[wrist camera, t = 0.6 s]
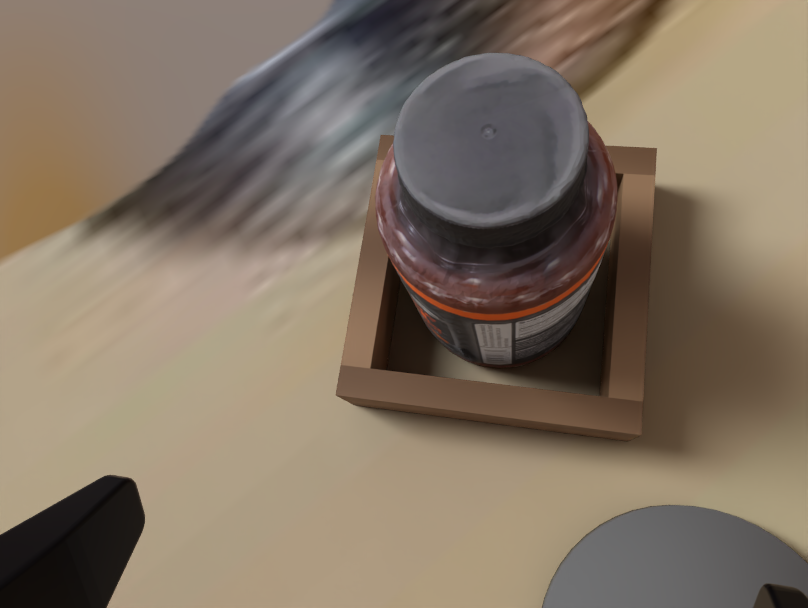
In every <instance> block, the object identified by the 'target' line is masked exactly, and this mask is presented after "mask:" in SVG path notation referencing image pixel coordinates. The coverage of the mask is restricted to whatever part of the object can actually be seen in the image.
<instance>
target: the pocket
mask: <svg viewBox="0 0 808 608" xmlns="http://www.w3.org/2000/svg"><path fill="white" fill-rule="evenodd" d="M393 141H394V136H393V135H381V137H380V143H379V149H378V155H377V160H376V166H375V172H374V177H373V183H372V189H371V195H370V200H369V206H368V212H367V218H366V223H365V229H364V235H363V241H362V246H361V252H360V258H359V264H358V269H357V275H356V281H355V287H354V292H353V298H352V304H351V310H350V315H349V321H348V327H347V333H346V338H345V344H344V350H343V356H342V361H341V367H340V373H339V379H338V384H337V390H336V396H338V397H340V398H342V399H344V400H346V401H348V402H349V403H351V404H353V405H359V406H366V407H374V408H381V409H389V410H396V411H404V412H411V413H419V414H426V415H434V416H441V417H449V418H456V419H464V420H471V421H479V422H486V423H494V424H501V425H509V426H516V427H524V428H531V429H539V430H546V431H554V432H561V433H569V434H576V435H584V436H591V437H599V438H606V439H614V440H621V441H629V440H632V439H634V438H636V437H638V436H640V435H641V433H642V414H643V395H644V377H645V358H646V339H647V321H648V302H649V284H650V265H651V246H652V228H653V209H654V191H655V172H656V153H657V148H642V147H621V146H606V148H607V150H608V152H609V154H610V157H611V160H612V162H613V165H614V170H615V173H616V181H617V194H618V200H617V211H616V217H615V222H614V226H613V230H612V233H611V240H610V254H609V268H608V283H607V297H606V311H605V325H604V339H603V353H602V367H601V381H600V395H599V396H593V395H585V394H576V393H568V392H560V391H552V390H543V389H535V388H527V387H519V386H510V385H502V384H494V383H486V382H477V381H469V380H461V379H453V378H444V377H436V376H428V375H420V374H411V373H403V372H395V371H387V363H388V357H389V351H390V344H391V338H392V331H393V325H394V319H395V312H396V306H397V299H398V293H399V286H400V280H401V279H400V277H399V275H398V273H397V271H396V269H395V268H394V266H393V264H392V262H391V260H390V258H389V256H388V254H387V252H386V250H385V248H384V245H383V242H382V239H381V236H380V234H379V232H378V226H377V220H376V210H375V206H376V204H375V194H376V187H377V182H378V179H379V173H380V170H381V167H382V165H383V162H384V160H385V158H386V156H387V154H388V151H389V149H390V147H391V145H392V144H393Z"/></svg>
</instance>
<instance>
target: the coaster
mask: <svg viewBox="0 0 808 608" xmlns="http://www.w3.org/2000/svg"><path fill="white" fill-rule="evenodd" d="M766 583H771V584H777V585H784V586H790V587H794V588H797V589H799V590H801V591H802V592H803V593H804V594H805V595H806V596H807V597H808V563H807V562H805V561H804V560H803V559H802V558H801V557H800V556H799V555H798V554H797V553H796V552H795V551H794V550H793V549H791V548H790V547H789V546H787V545H786V544H785V543H783V542H782V541H781V540H779V539H778V538H777V537H775V536H773V535H772V534H770V533H768V532H767V531H765V530H763V529H762V528H760V527H758V526H756V525H754V524H752V523H750V522H748V521H745V520H743V519H741V518H739V517H736V516H733V515H730V514H727V513H723V512H720V511H717V510H712V509H707V508H701V507H696V506H680V505H662V506H650V507H646V508H641V509H637V510H632V511H629V512H627V513H624V514H621V515H619V516H616V517H614V518H612V519H610V520H608V521H606V522H605V523H603V524H601V525H599V526H598V527H596V528H595V529H594V530H592V531H591V532H590V533H588V534H587V535H586V536H584V537H583V538H582V539H581V540H580V541H579V542H578V543H577V544H576V545H575V546H574V547H573V548H572V549H571V551H570V552H569V553H568V555H567V556H566V557H565V558H564V560H563V561H562V562H561V564H560V566H559V567H558V569H557V571H556V573H555V575H554V576H553V578H552V580H551V582H550V585H549V588H548V590H547V593H546V595H545V598H544V602H543V606H542V608H753V606H754V603H755V600H756V598H757V595H758V593H759V590H760V588H761V587H762V586H763V585H764V584H766Z"/></svg>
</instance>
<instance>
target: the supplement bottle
mask: <svg viewBox="0 0 808 608" xmlns="http://www.w3.org/2000/svg"><path fill="white" fill-rule="evenodd" d="M617 200H618V194H617V181H616V173H615V170H614V165H613V162H612V160H611V157H610V154H609V152H608V150H607V148H606V146H605V144H604V142H603V141H602V139H601V137H600V136H599V135H598V133H597V132H596V130H595V129H594V128H593V126H592V125H591V124H590V123H589V122H588V121H587V115H586V113H585V110H584V108H583V105H582V102H581V100H580V98H579V96H578V94H577V93H576V92H575V91H574V90H573V88H572V87H571V85H570V84H569V83H568V82H567V81H566V80H565V79H564V78H563V77H562V76H561V75H560V74H559V73H558V72H557V71H555V70H554V69H552V68H551V67H548V66H546V65H544V64H542V63H541V62H539V61H536V60H533V59H531V58H529V57H525V56H521V55H514V54H508V53H485V54H479V55H473V56H468V57H464V58H462V59H460V60H457V61H454V62H452V63H450V64H447V65H446V66H444V67H443V68H440V69H438V70H437V71H436V72H434V73H433V74H431V75H430V76H428V77H427V78H426V79H425V80H424V81H423V82H422V83H421V84H420V85H419V86H418V87H417V88H416V89H415V90H414V91H413V93H412V94H411V96H410V97H409V98H408V99H407V101H406V102H405V103H404V105H403V107H402V110H401V112H400V114H399V117H398V120H397V123H396V126H395V132H394V141H393V144H392V145H391V147H390V149H389V151H388V154H387V156H386V158H385V160H384V162H383V165H382V167H381V170H380V173H379V179H378V182H377V187H376V194H375V204H376V206H375V210H376V220H377V226H378V232H379V234H380V236H381V239H382V242H383V245H384V248H385V250H386V252H387V254H388V256H389V258H390V260H391V262H392V264H393V266H394V268H395V269H396V271H397V273H398V275H399V277H400V279H401V281H402V283H403V284H404V286H405V288H406V289H407V291H408V292H409V294H410V296H411V298H412V300H413V302H414V304H415V306H416V308H417V309H418V312H419V314H420V315H421V317H422V319H423V320H424V322H425V325H426V326H427V328H428V329H429V330H430V331H431V332H432V334H433V335H434V336H435V337H436V338H437V339H438V340H439V341H440V342H441V343H442V344H443V345H444V346H445V347H446V348H447V349H448V350H449V351H450V352H452V353H454V354H455V355H457V356H459V357H460V358H462V359H464V360H466V361H468V362H471V363H474V364H477V365H481V366H486V367H496V368H506V367H515V366H521V365H524V364H528V363H531V362H533V361H535V360H537V359H539V358H541V357H543V356H545V355H546V354H548V353H549V352H551V351H552V350H554V349H555V348H556V347H557V346H558V345H559V344H560V343H561V342H562V341H563V340H564V339H565V338H566V336H567V335H568V334H569V332H570V331H571V330H572V328H573V327H574V325H575V323H576V322H577V320H578V318H579V316H580V314H581V311H582V309H583V306H584V304H585V301H586V299H587V297H588V295H589V291H590V289H591V286H592V283H593V281H594V279H595V276H596V274H597V271H598V269H599V266H600V264H601V261H602V258H603V256H604V254H605V250H606V247H607V244H608V241H609V239H610V236H611V233H612V230H613V226H614V222H615V217H616V211H617Z"/></svg>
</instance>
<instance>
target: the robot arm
mask: <svg viewBox="0 0 808 608" xmlns="http://www.w3.org/2000/svg"><path fill="white" fill-rule="evenodd" d="M144 524H145V514H144V510H143V506H142V503H141V499H140V496H139V492H138V489H137V485H136V483H135V482H134V481H133V480H132V479H131V478H128V477H122V476H116V475H107V476H104V477H102V478H100V479H98V480H96V481H95V482H93V483H91V484H89V485H87V486H86V487H84V488H82V489H80V490H79V491H77V492H75V493H73V494H72V495H70V496H68V497H66V498H65V499H63V500H61V501H59V502H57V503H56V504H54V505H52V506H50V507H49V508H47V509H45V510H43V511H42V512H40V513H38V514H36V515H34V516H33V517H31V518H29V519H27V520H26V521H24V522H22V523H20V524H19V525H17V526H15V527H13V528H12V529H10V530H8V531H6V532H4V533H3V534H1V535H0V608H107V606H108V603H109V601H110V599H111V597H112V595H113V593H114V591H115V589H116V586H117V584H118V582H119V580H120V578H121V576H122V574H123V572H124V569H125V567H126V565H127V563H128V561H129V559H130V557H131V555H132V553H133V550H134V548H135V546H136V544H137V542H138V540H139V538H140V536H141V533H142V531H143V528H144ZM753 608H808V597H807V596H806V595H805V594H804V593H803V592H802V591H801V590H799V589H797V588H794V587H790V586H784V585H777V584H771V583H766V584H764V585H763V586H762V587H761V588H760V590H759V593H758V595H757V598H756V600H755V603H754V606H753Z"/></svg>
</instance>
